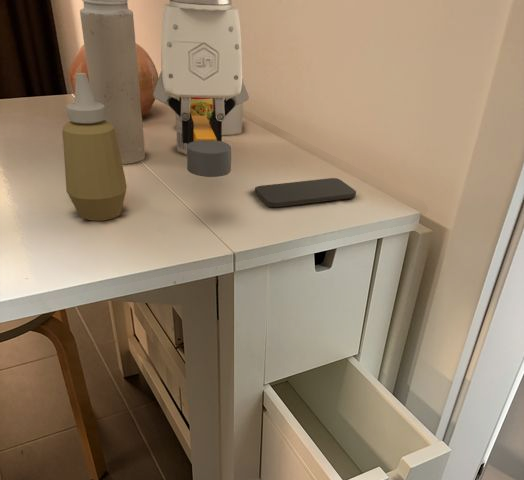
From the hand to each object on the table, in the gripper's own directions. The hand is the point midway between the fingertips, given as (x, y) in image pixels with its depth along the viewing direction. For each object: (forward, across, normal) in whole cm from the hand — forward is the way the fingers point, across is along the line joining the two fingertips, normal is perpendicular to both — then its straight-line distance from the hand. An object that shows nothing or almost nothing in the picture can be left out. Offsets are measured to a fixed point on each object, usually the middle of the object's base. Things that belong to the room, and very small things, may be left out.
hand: (201, 147), depth 77 cm
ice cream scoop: (0, 0, -3) cm, 3 cm away
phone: (+8, +16, +2) cm, 19 cm away
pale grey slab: (+8, +6, +41) cm, 42 cm away
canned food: (+8, +2, +27) cm, 28 cm away
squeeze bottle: (+9, -15, -2) cm, 17 cm away
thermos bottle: (+9, -12, +23) cm, 27 cm away
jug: (+9, -12, +52) cm, 54 cm away
